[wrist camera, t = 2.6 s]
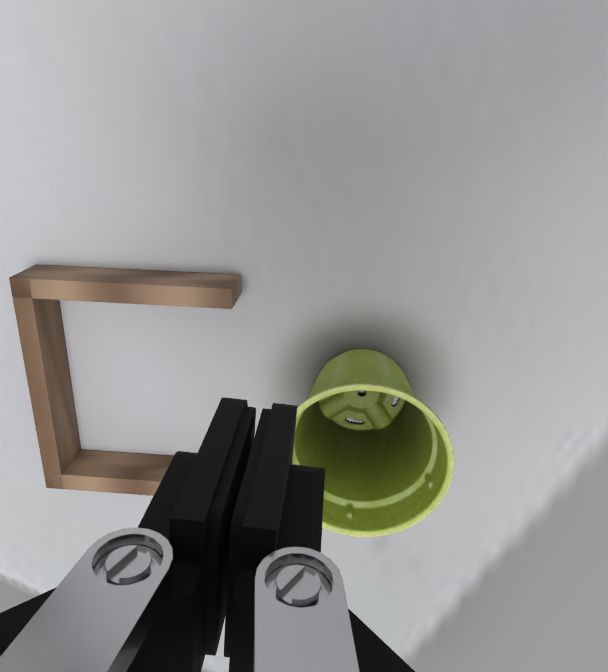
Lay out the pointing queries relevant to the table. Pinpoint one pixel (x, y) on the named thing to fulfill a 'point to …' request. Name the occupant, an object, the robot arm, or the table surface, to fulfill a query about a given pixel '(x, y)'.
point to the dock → (53, 370)
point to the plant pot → (372, 446)
